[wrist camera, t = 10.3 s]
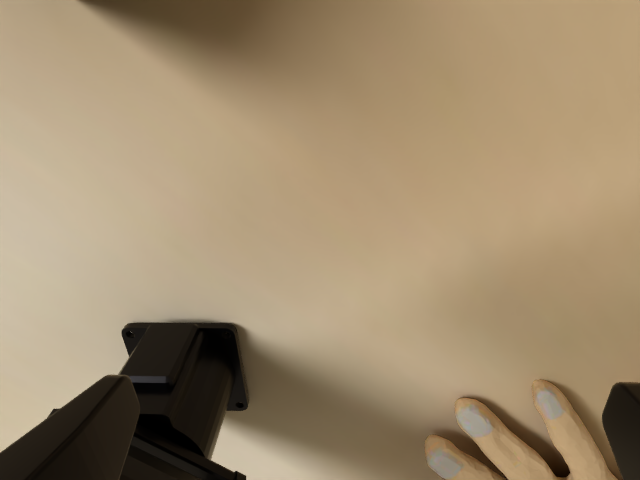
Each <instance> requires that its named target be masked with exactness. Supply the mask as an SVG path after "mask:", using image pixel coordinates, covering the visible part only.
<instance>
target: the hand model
mask: <svg viewBox="0 0 640 480" xmlns="http://www.w3.org/2000/svg"><path fill="white" fill-rule="evenodd" d="M532 393H533V399H534V405H535V407H536V409H537V410H538V412H539V413H540V414H541V416H542V418H543V420H544V422H545V424H546V426H547V429H548V432H549V435H550V438H551V440H552V442H553V444H554V446H555V447H556V449H557V450H558V451H559V452H560V453H561V455H562V456H563V458H564V460H565V462H566V463H567V465H568V467H569V470H570V474H569V475H568V476H567V477H565V478H561V477H556V476H555V475H554V474H553V472H552V471H551V469H550V468H549V466H548V465H547V463H546V462H545V461H544V459H543V458H542V457H541V456H540V455H539V454H538V453H537V452H536V451H535V450H534V449H532V448H531V447H529V446H528V445H527V444H526V443H524V442H523V441H522V440H521V439H520V438H518V437H517V436H516V435H515V434H513V433H512V432H511V431H510V430H509V429H508V428H507V427H506V426H505V425H504V424H503V423H502V422H501V421H500V419H499V418H498V417H497V416H496V415H495V414H494V413H493V412H491V411H490V410H489V409H488V408H487V407H486V406H485V405H484V404H483V403H481V402H479V401H477V400H475V399H470V398H459V399H458V400H457V401H456V402H455V415H456V419H457V422H458V424H459V426H460V427H461V429H462V430H463V431H464V432H465V433H466V434H467V435H469V436H470V437H471V438H472V439H473V440H474V442H475V443H476V444H477V445H478V446H479V447H480V449H481V450H482V451H483V453H484V454H485V455H486V456H487V457H488V458H489V459H490V460H491V461H492V462H493V464H494V465H495V466H496V467H497V468H498V469H499V470H500V471H501V472H502V473H503V474H504V475H505V476H506V477H507V479H508V480H618V479H617V478H616V477H615V476H614V475H613V474H612V473H611V472H610V471H609V469H608V468H607V465H606V463H605V461H604V457H603V456H602V454H601V453H600V451H599V449H598V447H597V446H596V444H595V442H594V440H593V438H592V437H591V435H590V434H589V432H588V430H587V428H586V427H585V426H584V424H583V423H582V421H581V419H580V418H579V416H578V415H577V414H576V412H575V411H574V410H573V408H572V406H571V404H570V402H569V401H568V399H567V398H566V397H565V395H564V394H563V393H562V392H561V391H560V390H559V389H558V388H557V387H556V386H554V385H553V384H551V383H550V382H548V381H546V380H541V379H540V380H535V381H534V382H533V385H532ZM425 454H426V461H427V465H428V466H429V467H430V468H431V469H432V470H434V471H435V472H436V473H437V474H438V475H439V476H440V477H442V478H444V479H445V480H507V479H505V478H504V477H502V476H500V475H499V474H497V473H495V472H494V471H493V470H491V469H490V468H489V467H487V466H486V465H485V464H483V463H481V462H480V461H478V460H477V459H476V458H474V457H473V456H470V455H468V454H466V453H464V452H462V451H460V450H459V449H457V448H456V447H455V445H454V444H453V443H452V442H451V441H449V440H447V439H445V438H443V437H440V436H437V435H429V436H428V437H427V439H426V441H425Z"/></svg>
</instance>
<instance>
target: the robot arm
mask: <svg viewBox="0 0 640 480" xmlns="http://www.w3.org/2000/svg"><path fill="white" fill-rule="evenodd" d="M130 331H131V332H133V333H131V332H130ZM225 332H228V333H230V334H226V333H225ZM122 337H123V340H124V343H125V346H126V349H127V352H128V355H129V358H128V360H127V362H126V363H125V365H124V366H123V368H122V370H121V371H120V373H119V374H118V375H107V376H105V377H103V378H101V379H100V380H99V381H97V382H96V383H95V384H93V385H92V386H91V387H89V388H88V389H86V390H85V391H84V392H82V393H81V394H80V395H78V396H77V397H76V398H74V399H73V400H71V401H70V402H69V403H67V404H66V405H65V406H63V407H62V408H61V409H53V411H52V412H51V413H50V415H49V416H48V417H47V419H46V420H44V421H43V422H41V423H40V424H39V425H37V426H36V427H35V428H33V429H32V430H30V431H29V432H28V433H26V434H25V435H24V436H22V437H21V438H20V439H18V440H17V441H15V442H14V443H13V444H11V445H10V446H9V447H7V448H6V449H5V450H3V451H2V452H0V480H246V476H245V475H243V474H241V473H239V472H237V471H235V472H233V471H231V470H229V469H227V468H225V467H223V466H221V465H219V464H217V463H215V462H213V461H211V458H212V455H213V451H214V448H215V445H216V442H217V438H218V435H219V432H220V429H221V426H222V422H223V419H224V416H225V413H226V410H227V411H243V410H246V409H247V407H248V404H249V397H248V391H247V386H246V380H245V374H244V369H243V363H242V358H241V352H240V346H239V341H238V335H237V330H236V328H235V327H234V326H233V325H231V324H227V323H129V324H127V325H126V326H125V327H124V328H123V330H122ZM240 402H241V403H240ZM602 422H603V427H604V430H605V432H606V435H607V438H608V441H609V443H610V446H611V449H612V451H613V454H614V457H615V459H616V462H617V465H618V467H619V470H620V473H621V475H622V478H623V480H640V383H634V382H618V383H616V384H615V385H613V387H612V389H611V392H610V394H609V397H608V400H607V402H606V405H605V408H604V410H603V414H602Z"/></svg>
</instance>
